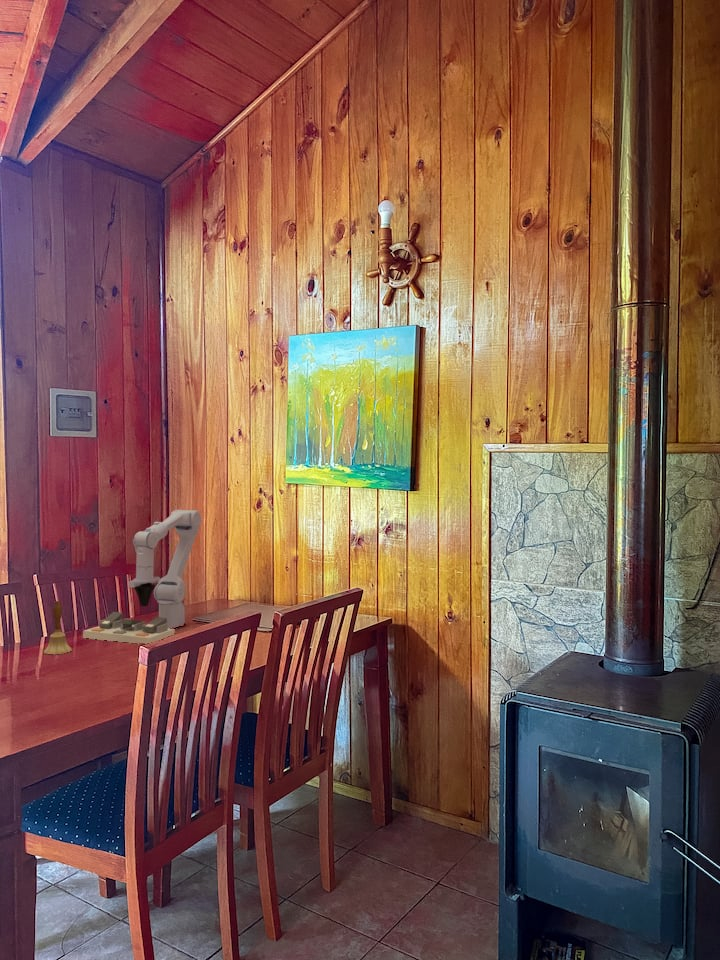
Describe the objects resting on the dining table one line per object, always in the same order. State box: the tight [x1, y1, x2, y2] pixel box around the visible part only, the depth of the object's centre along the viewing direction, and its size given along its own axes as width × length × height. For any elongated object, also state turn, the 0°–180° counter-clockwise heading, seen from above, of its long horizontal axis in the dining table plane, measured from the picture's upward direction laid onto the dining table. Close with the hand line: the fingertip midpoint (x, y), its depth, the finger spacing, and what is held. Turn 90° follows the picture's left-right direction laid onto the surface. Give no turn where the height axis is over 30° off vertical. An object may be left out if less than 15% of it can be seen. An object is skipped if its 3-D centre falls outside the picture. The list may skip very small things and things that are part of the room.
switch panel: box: [82, 619, 176, 645], centre depth 248 cm, size 14×27×5 cm, turn 70°
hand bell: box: [43, 600, 73, 656], centre depth 228 cm, size 8×8×16 cm
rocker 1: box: [98, 611, 125, 629], centre depth 253 cm, size 8×4×2 cm, turn 160°
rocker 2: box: [143, 616, 167, 632], centre depth 247 cm, size 8×4×2 cm, turn 160°
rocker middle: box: [121, 617, 146, 625], centre depth 250 cm, size 8×4×2 cm, turn 160°
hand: (144, 605), depth 250 cm, fingers closed
